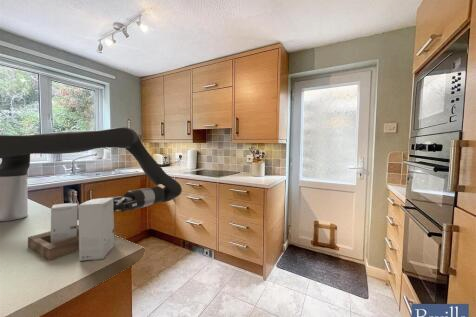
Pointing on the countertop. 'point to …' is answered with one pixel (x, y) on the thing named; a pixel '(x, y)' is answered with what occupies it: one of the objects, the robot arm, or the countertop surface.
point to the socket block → (53, 245)
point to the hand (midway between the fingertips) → (96, 208)
